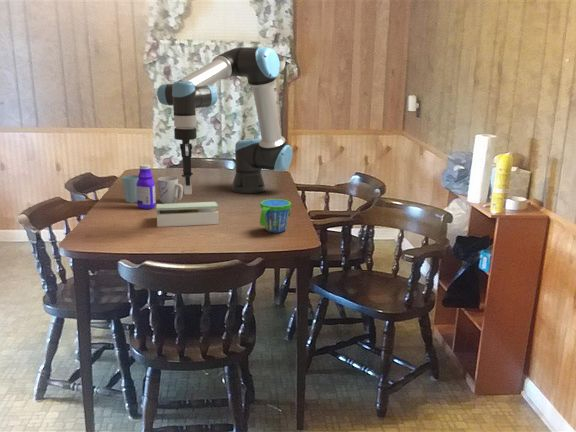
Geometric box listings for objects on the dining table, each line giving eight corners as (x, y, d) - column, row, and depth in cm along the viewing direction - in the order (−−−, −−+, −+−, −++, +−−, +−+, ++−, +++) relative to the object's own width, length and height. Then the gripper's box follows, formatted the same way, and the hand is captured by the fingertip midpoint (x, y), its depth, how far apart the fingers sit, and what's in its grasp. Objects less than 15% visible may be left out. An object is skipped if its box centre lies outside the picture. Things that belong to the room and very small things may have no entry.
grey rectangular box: (215, 215, 225) (215, 203, 224) (218, 224, 214) (218, 212, 213) (157, 217, 221) (156, 206, 220) (157, 226, 209) (156, 214, 208)
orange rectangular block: (198, 218, 221) (198, 209, 220) (198, 221, 217) (197, 212, 216) (179, 219, 220) (179, 209, 219) (179, 222, 216) (178, 213, 215)
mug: (189, 201, 245) (188, 178, 242) (177, 206, 238) (176, 182, 235) (166, 198, 250) (165, 175, 247) (154, 203, 242) (153, 179, 240)
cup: (143, 202, 243) (142, 177, 240) (124, 204, 240) (123, 179, 237) (140, 198, 250) (138, 174, 247) (122, 199, 247) (120, 175, 244)
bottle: (158, 206, 236) (156, 164, 232) (151, 210, 231) (148, 166, 227) (143, 205, 239) (140, 163, 234) (135, 208, 233) (132, 165, 229)
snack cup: (271, 238, 199) (272, 209, 196) (249, 231, 205) (249, 203, 202) (300, 228, 210) (301, 201, 207) (278, 222, 217) (278, 196, 214)
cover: (215, 203, 224) (215, 201, 224) (218, 208, 213) (218, 205, 213) (156, 206, 219) (156, 203, 219) (156, 210, 208) (156, 208, 208)
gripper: (173, 125, 207) (176, 189, 213) (174, 130, 194) (178, 198, 201) (194, 124, 208) (197, 189, 215) (197, 129, 196) (200, 197, 203)
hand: (188, 193), depth 208 cm, fingers closed
